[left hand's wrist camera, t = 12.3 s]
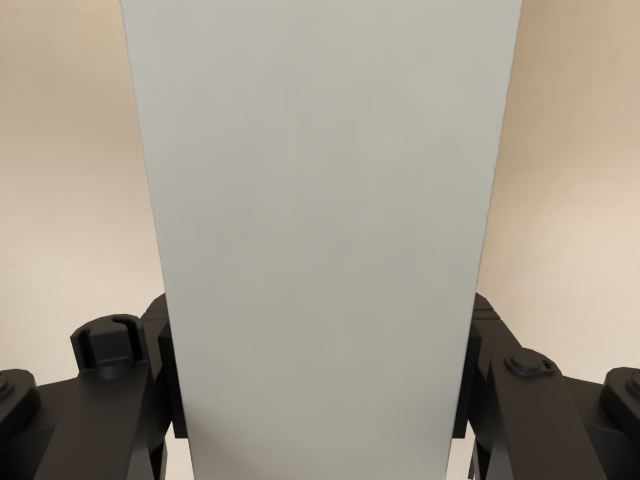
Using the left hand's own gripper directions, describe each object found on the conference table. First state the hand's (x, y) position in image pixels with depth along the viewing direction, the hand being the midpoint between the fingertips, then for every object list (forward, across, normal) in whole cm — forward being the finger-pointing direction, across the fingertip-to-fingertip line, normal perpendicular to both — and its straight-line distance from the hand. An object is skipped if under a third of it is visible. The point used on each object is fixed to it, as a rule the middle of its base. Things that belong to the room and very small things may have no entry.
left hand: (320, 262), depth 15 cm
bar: (+1, 0, -30) cm, 30 cm away
